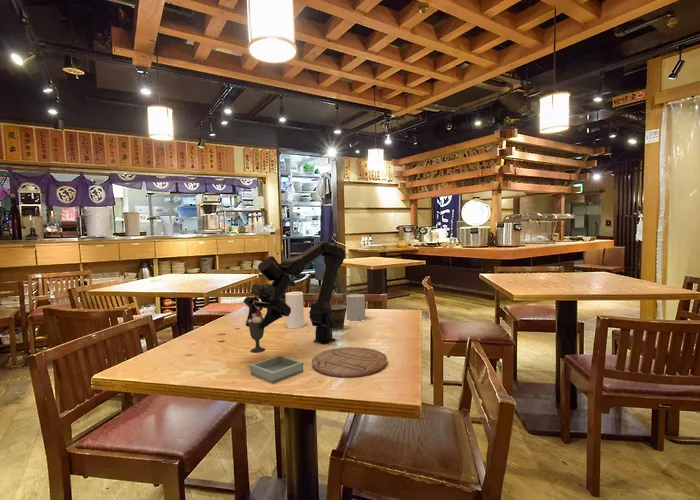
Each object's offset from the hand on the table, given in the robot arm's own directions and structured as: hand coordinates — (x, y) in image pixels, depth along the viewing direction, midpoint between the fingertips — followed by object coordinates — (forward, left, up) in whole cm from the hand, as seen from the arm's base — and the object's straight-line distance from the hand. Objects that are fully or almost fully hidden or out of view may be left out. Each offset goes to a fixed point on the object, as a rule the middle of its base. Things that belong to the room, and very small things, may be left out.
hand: (253, 327), depth 119 cm
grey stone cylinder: (-70, -17, -14) cm, 74 cm away
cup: (-43, -32, -14) cm, 55 cm away
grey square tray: (-1, +10, -13) cm, 17 cm away
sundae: (-1, 0, -8) cm, 8 cm away
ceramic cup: (-50, -13, -14) cm, 54 cm away
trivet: (-22, +22, -14) cm, 34 cm away
